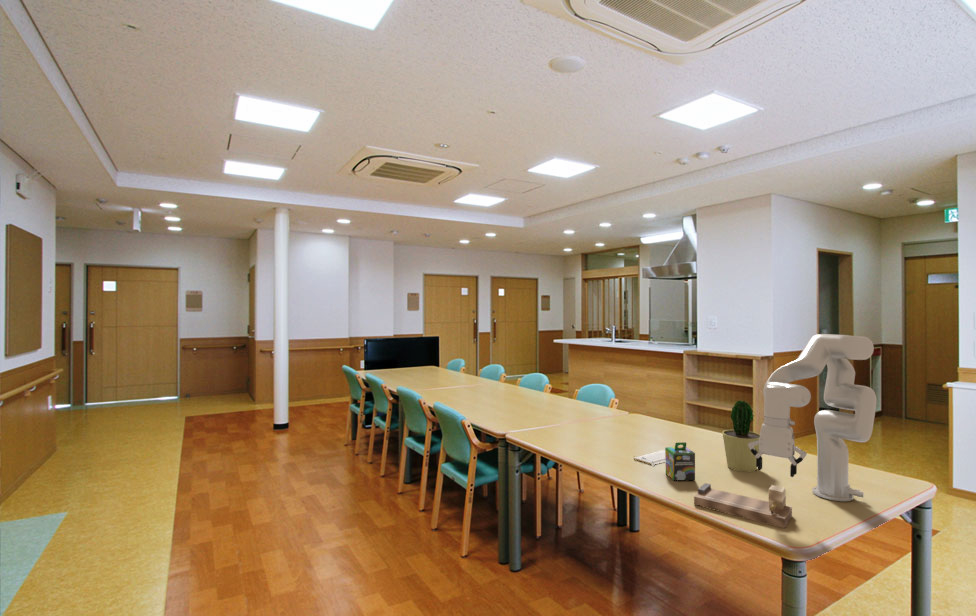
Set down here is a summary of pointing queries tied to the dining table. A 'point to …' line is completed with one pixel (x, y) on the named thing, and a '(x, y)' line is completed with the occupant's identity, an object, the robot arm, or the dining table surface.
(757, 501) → the walnut board
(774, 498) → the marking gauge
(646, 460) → the baseboard molding
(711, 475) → the dining table surface
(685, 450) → the chalk box
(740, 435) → the potted cactus
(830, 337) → the robot arm
